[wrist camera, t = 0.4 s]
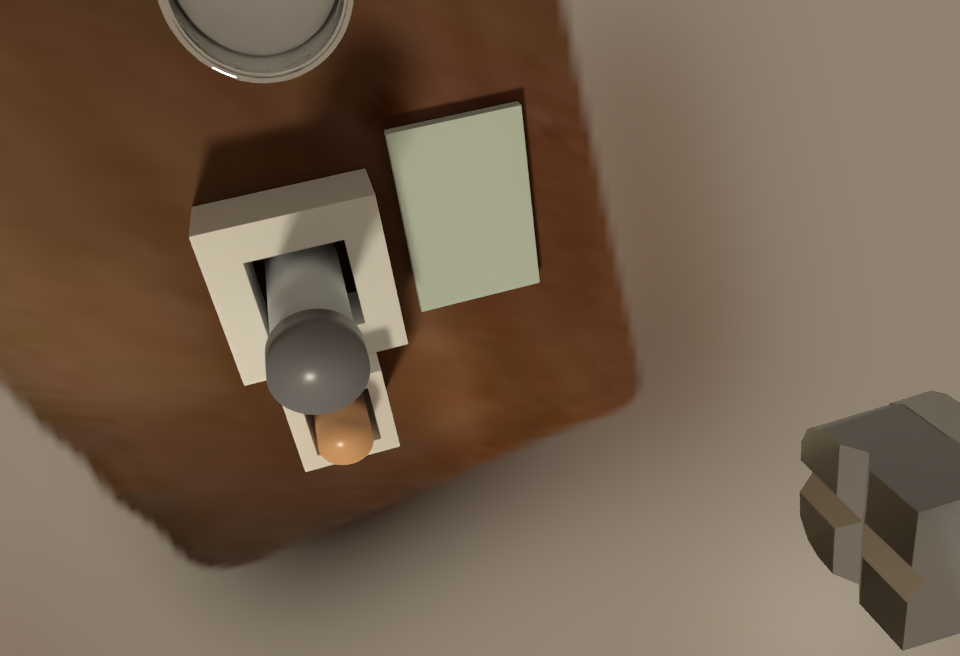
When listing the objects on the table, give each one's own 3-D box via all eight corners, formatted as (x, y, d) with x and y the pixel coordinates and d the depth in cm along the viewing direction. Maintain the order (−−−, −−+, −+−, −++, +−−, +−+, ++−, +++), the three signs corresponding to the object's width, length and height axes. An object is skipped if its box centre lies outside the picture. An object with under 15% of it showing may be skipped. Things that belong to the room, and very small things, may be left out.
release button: (306, 389, 49) (312, 430, 46) (358, 376, 50) (367, 415, 46) (319, 428, 51) (325, 470, 48) (369, 415, 51) (378, 456, 48)
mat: (383, 130, 46) (386, 134, 45) (517, 101, 47) (521, 105, 47) (419, 305, 53) (422, 311, 52) (536, 276, 54) (539, 282, 53)
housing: (191, 206, 46) (186, 253, 41) (365, 168, 47) (380, 209, 42) (269, 421, 55) (273, 480, 50) (413, 383, 56) (430, 437, 51)
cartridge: (248, 235, 47) (253, 344, 38) (332, 216, 48) (358, 318, 38) (272, 306, 50) (281, 425, 40) (351, 287, 51) (379, 400, 41)
